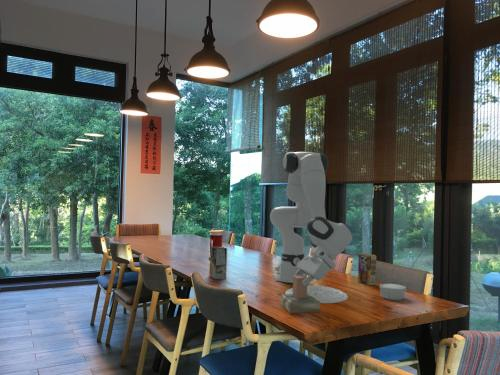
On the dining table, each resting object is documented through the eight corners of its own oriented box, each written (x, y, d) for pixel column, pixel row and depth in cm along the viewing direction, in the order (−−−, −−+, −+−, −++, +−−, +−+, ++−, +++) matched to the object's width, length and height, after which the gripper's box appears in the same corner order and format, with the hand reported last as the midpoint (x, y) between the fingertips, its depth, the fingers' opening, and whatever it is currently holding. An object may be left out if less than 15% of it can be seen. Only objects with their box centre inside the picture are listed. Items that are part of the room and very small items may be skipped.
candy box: (376, 284, 204) (376, 255, 204) (370, 285, 202) (370, 255, 202) (363, 281, 212) (364, 252, 212) (357, 282, 210) (358, 253, 210)
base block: (280, 304, 163) (280, 293, 163) (308, 303, 166) (308, 292, 166) (290, 312, 151) (290, 301, 151) (319, 311, 154) (319, 300, 154)
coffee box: (226, 278, 210) (227, 248, 210) (215, 279, 207) (216, 248, 207) (219, 275, 218) (220, 246, 218) (209, 276, 215) (209, 246, 215)
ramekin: (377, 294, 185) (377, 282, 185) (401, 295, 184) (402, 283, 184) (382, 300, 174) (382, 288, 174) (408, 301, 173) (409, 289, 173)
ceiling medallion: (300, 306, 163) (300, 298, 163) (276, 289, 190) (276, 283, 190) (360, 302, 171) (360, 295, 171) (329, 287, 198) (329, 281, 198)
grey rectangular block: (292, 295, 160) (293, 275, 160) (302, 295, 161) (303, 275, 161) (296, 298, 156) (296, 278, 156) (306, 298, 157) (307, 277, 157)
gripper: (307, 248, 171) (285, 271, 168) (327, 255, 151) (302, 281, 148) (317, 258, 171) (295, 281, 169) (337, 267, 152) (313, 293, 149)
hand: (298, 281), depth 159 cm, fingers open, 8 cm apart
